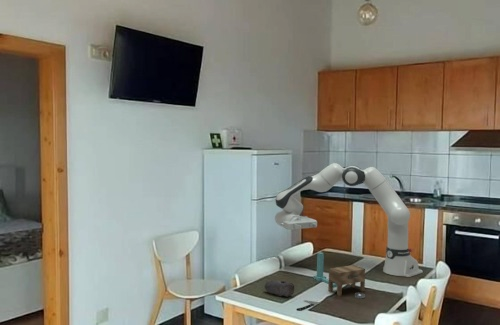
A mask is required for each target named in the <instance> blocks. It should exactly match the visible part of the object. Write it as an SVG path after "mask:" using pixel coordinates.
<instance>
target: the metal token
mask: <svg viewBox="0 0 500 325" xmlns="http://www.w3.org/2000/svg"><path fill="white" fill-rule="evenodd" d="M354 297H355V298H356V299H360V300H361V299H365V297H366V294H365V293H363V292H355V293H354Z"/></svg>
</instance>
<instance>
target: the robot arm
mask: <svg viewBox="0 0 500 325" xmlns="http://www.w3.org/2000/svg"><path fill="white" fill-rule="evenodd" d="M341 181H343V183H344V184H345V185H347V186H349V187H356V186H358V185H361V184H364V186H366V187H367V189H368V190H369V192H370V194H371V195H372V196H373V197H374V198H375V200H376V201H377V203H378V204H379V206H380V207H381V208H382V210H383V211H384V213H385V215H387V246H386V248H385V249H386V250H385V253H386V254H385V259H384V265H383V267H382V269H383V270H382V272H383V273H384V274H387V275H391V276H397V277H404V278H405V277H407V278H411V277H413V276H417V275H419V274H422V273H424V272H423V270H422V269H421V268H419V262H418V260H417V259H416V258H414V257H413V256H412V255H411V253H414V249H413V248H410V247H409V221H410V219H411V212H410V210H409V208H408V207H407V205H406V204H405V203H404V201H403V200H402V199H401V197H400V196H399V195H398V193H397V192H396V190H395V189H394V188H393V187H392V185H391V184H390V183H389V182H388V180H387V179H386V178H385V176H384V175H383V174H382V172H381V171H379V169H377V168H376V167H374V166H369V167H367V168H365V169H362V168H360V167H359V166H357V165H348V166H341V165H340V164H339V163H336V162H332V163H331V164H329V165H328V166H325V167H324V168H323V169H322V170H321V171H320V172H318V173H317V174H315V175H311V176H309V175H308V176H305V177H303V178H301V179H300V180H299V181H298V182H296V183H294V184H292V185H291V186H290V187H288V188H286V189H285V190H282V191H280V192H279V193H278V194H276V196H275V205H276V206H277V207H279V208H280V209H281V210H280V211H278V212H276V213H275V216H274V220H275V223H276V224H277V225H278V226H280V227H282V228H283V229H285V230H291V231H298V230H301V229H302V230H303V229H309V228H317V227H318V221H317V220H316V219H314V218H311V217H308V216H306V215H303V212H304V204H302V202H300V201H299V200H298V199H297V198H295V197H294V196H296V195H297V194H299V193H301V192H303V191H304V190H311V191H315V192H318V193H325V192H328V191H329V190H331V189H332V188H333V187H334V186H335V185H336V184H338V183H339V182H341Z"/></svg>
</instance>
